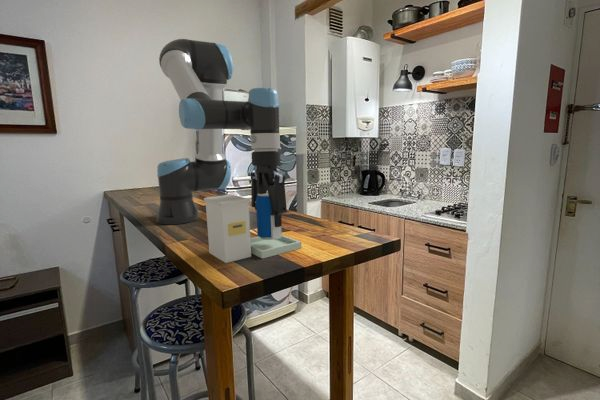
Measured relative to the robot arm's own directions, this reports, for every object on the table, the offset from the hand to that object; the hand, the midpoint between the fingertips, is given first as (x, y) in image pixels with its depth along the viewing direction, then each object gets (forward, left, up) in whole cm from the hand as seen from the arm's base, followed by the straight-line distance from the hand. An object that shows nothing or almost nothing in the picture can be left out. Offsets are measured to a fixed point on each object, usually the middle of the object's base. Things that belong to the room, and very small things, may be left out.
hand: (269, 235), depth 89 cm
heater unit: (-2, -11, -3) cm, 12 cm away
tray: (0, 0, -3) cm, 3 cm away
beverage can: (0, 0, -1) cm, 1 cm away
